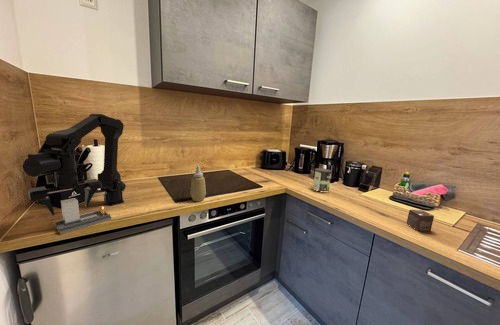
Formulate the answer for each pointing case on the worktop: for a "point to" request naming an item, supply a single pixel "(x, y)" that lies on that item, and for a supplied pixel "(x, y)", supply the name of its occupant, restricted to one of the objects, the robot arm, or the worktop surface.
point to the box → (420, 220)
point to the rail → (83, 222)
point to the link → (73, 212)
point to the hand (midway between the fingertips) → (70, 210)
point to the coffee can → (322, 179)
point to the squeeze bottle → (198, 186)
